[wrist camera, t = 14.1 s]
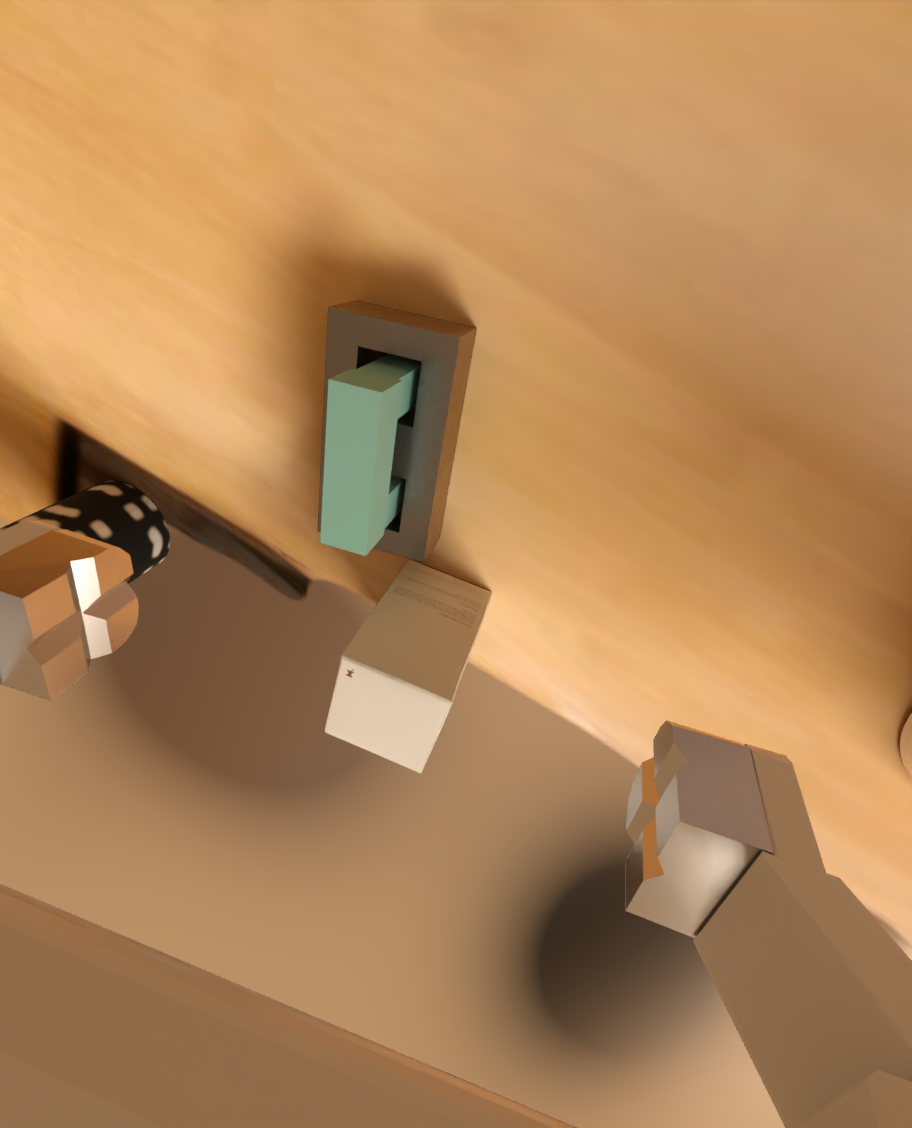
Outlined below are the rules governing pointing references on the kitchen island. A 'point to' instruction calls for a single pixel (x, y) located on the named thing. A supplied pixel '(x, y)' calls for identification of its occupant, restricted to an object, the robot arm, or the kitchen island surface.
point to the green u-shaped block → (364, 451)
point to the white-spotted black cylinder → (113, 521)
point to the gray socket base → (423, 428)
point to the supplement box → (407, 665)
